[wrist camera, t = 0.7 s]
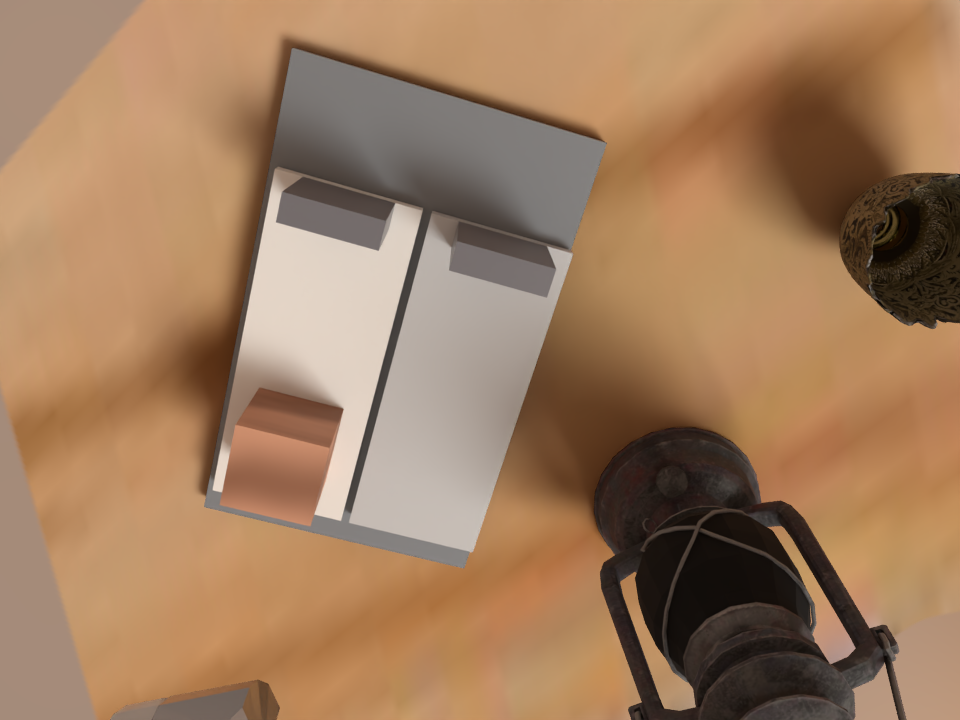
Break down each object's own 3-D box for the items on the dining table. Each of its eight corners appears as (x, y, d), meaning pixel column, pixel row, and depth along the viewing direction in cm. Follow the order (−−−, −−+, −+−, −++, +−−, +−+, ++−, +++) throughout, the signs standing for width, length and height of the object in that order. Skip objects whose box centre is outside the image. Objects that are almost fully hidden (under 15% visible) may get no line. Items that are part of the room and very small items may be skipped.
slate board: (296, 48, 41) (292, 47, 40) (603, 141, 43) (606, 143, 42) (208, 498, 51) (203, 507, 50) (464, 559, 53) (464, 568, 52)
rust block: (259, 387, 46) (235, 424, 41) (343, 408, 46) (329, 447, 42) (244, 461, 48) (219, 504, 43) (325, 481, 48) (310, 526, 44)
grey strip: (432, 210, 43) (427, 232, 38) (571, 250, 44) (585, 277, 39) (350, 515, 50) (336, 571, 45) (472, 545, 51) (472, 603, 45)
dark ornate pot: (783, 200, 44) (846, 229, 37) (907, 128, 43) (999, 143, 36) (834, 308, 47) (904, 356, 39) (954, 243, 45) (1050, 279, 38)
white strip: (278, 166, 42) (250, 182, 37) (423, 208, 43) (416, 229, 38) (216, 483, 49) (184, 536, 44) (342, 514, 50) (327, 569, 45)
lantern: (745, 396, 49) (1118, 856, 21) (790, 532, 52) (1161, 1082, 24) (557, 467, 50) (666, 983, 22) (613, 595, 54) (768, 1178, 26)
